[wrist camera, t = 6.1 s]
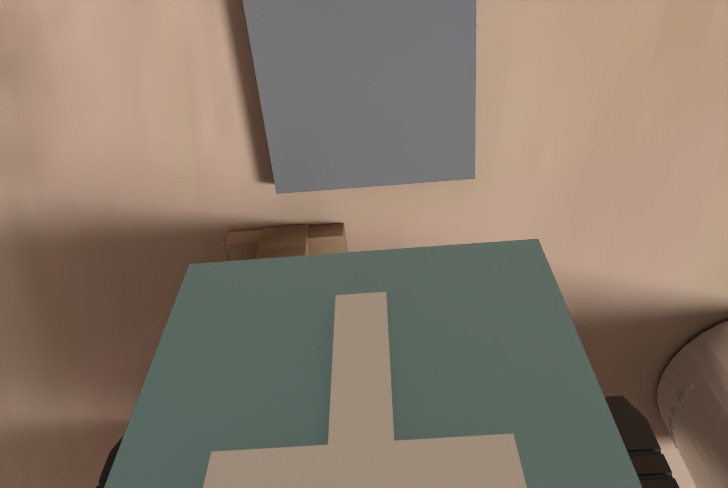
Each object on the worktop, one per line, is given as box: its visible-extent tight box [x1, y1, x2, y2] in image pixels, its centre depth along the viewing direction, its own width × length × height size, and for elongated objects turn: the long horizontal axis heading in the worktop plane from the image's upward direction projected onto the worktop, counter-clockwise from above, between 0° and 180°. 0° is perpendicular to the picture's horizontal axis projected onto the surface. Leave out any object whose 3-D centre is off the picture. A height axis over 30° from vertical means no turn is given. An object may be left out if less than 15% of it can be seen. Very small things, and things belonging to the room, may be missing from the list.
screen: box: [225, 223, 347, 261], centre depth 26 cm, size 5×8×12 cm, turn 5°
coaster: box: [242, 0, 476, 194], centre depth 25 cm, size 8×8×1 cm
